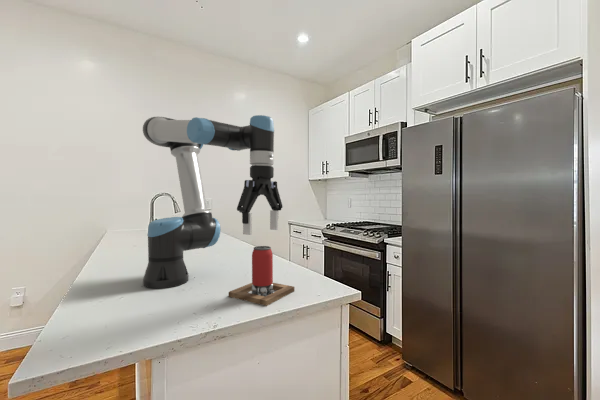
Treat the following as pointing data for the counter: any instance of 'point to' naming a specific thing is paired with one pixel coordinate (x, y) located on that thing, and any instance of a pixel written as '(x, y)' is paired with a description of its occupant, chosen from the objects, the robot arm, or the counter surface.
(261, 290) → the peg stand
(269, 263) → the beer can
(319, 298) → the counter surface
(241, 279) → the counter surface
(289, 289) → the face frame
